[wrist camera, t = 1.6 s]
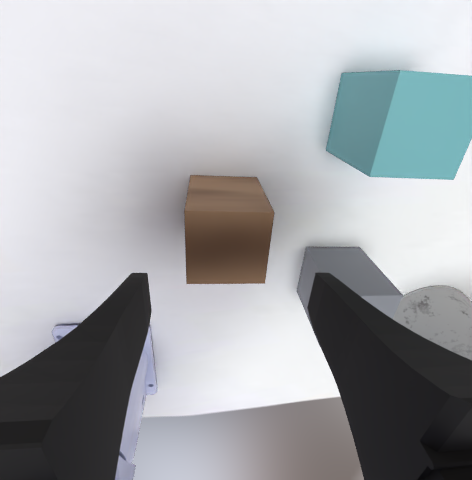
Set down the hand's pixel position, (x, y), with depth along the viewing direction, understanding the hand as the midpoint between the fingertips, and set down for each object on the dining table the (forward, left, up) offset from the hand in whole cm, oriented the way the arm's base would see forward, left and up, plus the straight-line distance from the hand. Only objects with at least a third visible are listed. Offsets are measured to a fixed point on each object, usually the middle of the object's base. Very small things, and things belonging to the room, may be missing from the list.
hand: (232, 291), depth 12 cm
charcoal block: (-5, -9, -10) cm, 14 cm away
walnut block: (0, 0, -10) cm, 10 cm away
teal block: (+7, -9, -10) cm, 15 cm away
